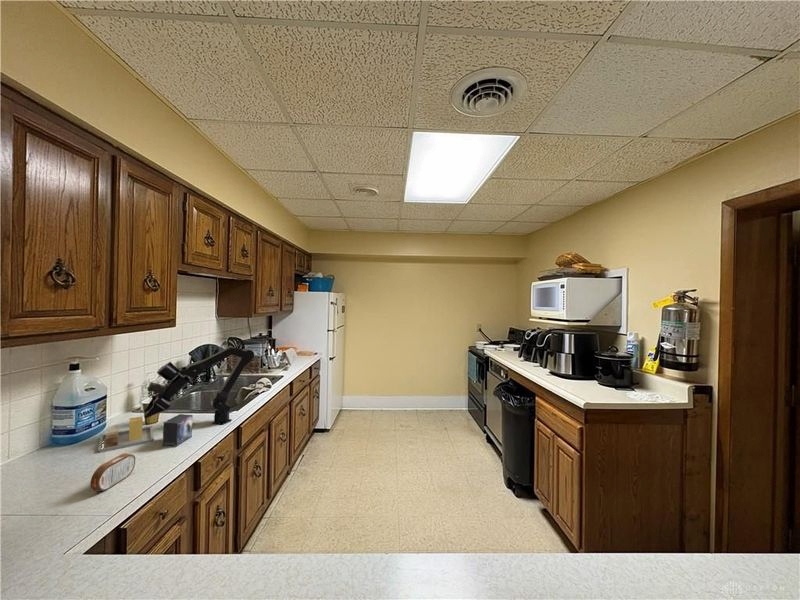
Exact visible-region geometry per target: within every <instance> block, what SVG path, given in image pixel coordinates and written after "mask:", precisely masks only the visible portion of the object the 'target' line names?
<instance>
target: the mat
mask: <svg viewBox="0 0 800 600" xmlns="http://www.w3.org/2000/svg"><path fill="white" fill-rule="evenodd" d="M194 424H195V425H197V422H192V426H195V425H194ZM155 430H158V431H161V432H163V425H162V426H159V427H157V428H156V427H155Z"/></svg>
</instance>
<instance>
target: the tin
mask: <svg viewBox="0 0 800 600" xmlns="http://www.w3.org/2000/svg"><path fill="white" fill-rule="evenodd" d="M135 465H136V456H135V455H134V454H132V453H127V452H126V453H125V452H123V453H121V454H119V455H118V456H115V457H114V458H112V459H110V460H108V461H106V462H103V463H102V464H101V465H99V466H98V467H97V468H96V469H95V471H94V473H93V474H92V476H91V479H90V481H89V482H90V483H89V485H90V486H89V487H90V489H91V490H92V491H97V492H98V491H99V492H104V491H107V490H110V488H112V487H114V486H115V485H117V484H119V483H120V482H122V481H123V479H124V480H125V479H127V478H128V477H129V476H130V475H131V474H132V472H133V471H134V469H135ZM126 477H127V478H126Z"/></svg>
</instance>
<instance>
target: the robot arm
mask: <svg viewBox="0 0 800 600" xmlns="http://www.w3.org/2000/svg"><path fill="white" fill-rule="evenodd" d="M230 356H235V357H237V360H236V364H235V365H234V367H233V368H232V370H231V372H230V373H229V375H228V377H227V378H226V380H225V381H224V383H223V384H222V386H221V388H220V389H219V390H218V391H217V390H214V392H213V394H212V395H211V396H210V404H211V406H212V407H213V409H215V411H214V415H213V417H214V418H213V420H214V421H212V422H211V424H215V425H221V426H222V425H225V424H228V423H229V422H231V421H232V419H231V418H230V409H231V406H230V405H229V404H228V402H227V401H228V399H229V394H230V392H231V390H232V388H233V387H234V385H235V384H236V382H237V380H238V379H239V377H240V375H242V371H243V370H244V369H245V367H246V366H248V365H249V364H251V362H252V360H253V359H255V352H254V351H253V350H252V349H250V348H238V347H233V346H229V345H228V346H227V347H226V348H224V349H222V350H220V351H218V352H216V353H214V354H212V355H211V356H209V357H206V358H205V359H201V360H198V361H195V362H191V363H189V364H187V365H186V366H182V367H177V366H176V365H174V364H173V363H172V361H169V362H167V363H166V364H164V365H162V366H161V367H160V368H159V369H158V370H157V371H156V374H157V375H159V376H160V377H162V378H163V379H164V380H166V381H170V382H169V383H165V384H160V383H156V382H153V381H151V382H150V383H149V384H148V386H147V389H146V390H147V392H149V393H150V392H152V394H151V400H150V401H149V403H147V406H146V407H145V408H144V410H143V412H144V413H146V414H145V415H144V418H145V419H148V418H149V417H152V416H154V415H157V414H159V413H161V412H164V411H168V410H169V409H170V408H171V401H172V399H173V398H174V397H175V396H176V395H179V392H180V391H181V390H183V388H184V387H185V386H186V385H187V384H189V385H191V386H193V384H194V383H193V382H194V378H196V377H198V376H199V375H201V374H202V373H203V372H204V371H205V370H206V369H208V368H209V367H211V366H213V365H215V364H217V363H219V362H220V361H223V360H224V359H226V358H228V357H230Z"/></svg>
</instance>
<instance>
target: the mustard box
mask: <svg viewBox="0 0 800 600" xmlns="http://www.w3.org/2000/svg"><path fill="white" fill-rule="evenodd" d="M128 423H129V424H128V425H129V426H128V430H129V441H133V440H138V439H142V428H143V416H138V417H131V418H129V421H128Z"/></svg>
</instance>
